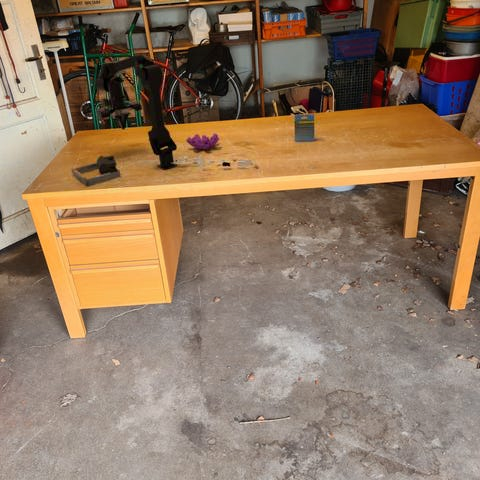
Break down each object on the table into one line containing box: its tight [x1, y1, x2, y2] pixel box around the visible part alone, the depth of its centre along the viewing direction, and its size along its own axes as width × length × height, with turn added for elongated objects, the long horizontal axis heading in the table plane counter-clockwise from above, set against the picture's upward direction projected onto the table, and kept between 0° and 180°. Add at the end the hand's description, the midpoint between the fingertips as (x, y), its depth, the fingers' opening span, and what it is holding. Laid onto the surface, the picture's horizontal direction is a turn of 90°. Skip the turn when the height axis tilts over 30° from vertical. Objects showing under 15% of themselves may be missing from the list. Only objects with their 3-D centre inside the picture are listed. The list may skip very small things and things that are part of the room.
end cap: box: [96, 155, 118, 175], centre depth 188 cm, size 10×7×7 cm
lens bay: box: [71, 162, 121, 187], centre depth 188 cm, size 17×14×3 cm
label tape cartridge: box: [294, 113, 315, 143], centre depth 208 cm, size 9×4×12 cm, turn 84°
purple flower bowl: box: [185, 133, 220, 150], centre depth 208 cm, size 11×15×10 cm
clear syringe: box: [175, 153, 259, 172], centre depth 190 cm, size 6×35×12 cm
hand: (123, 129), depth 203 cm, fingers closed
